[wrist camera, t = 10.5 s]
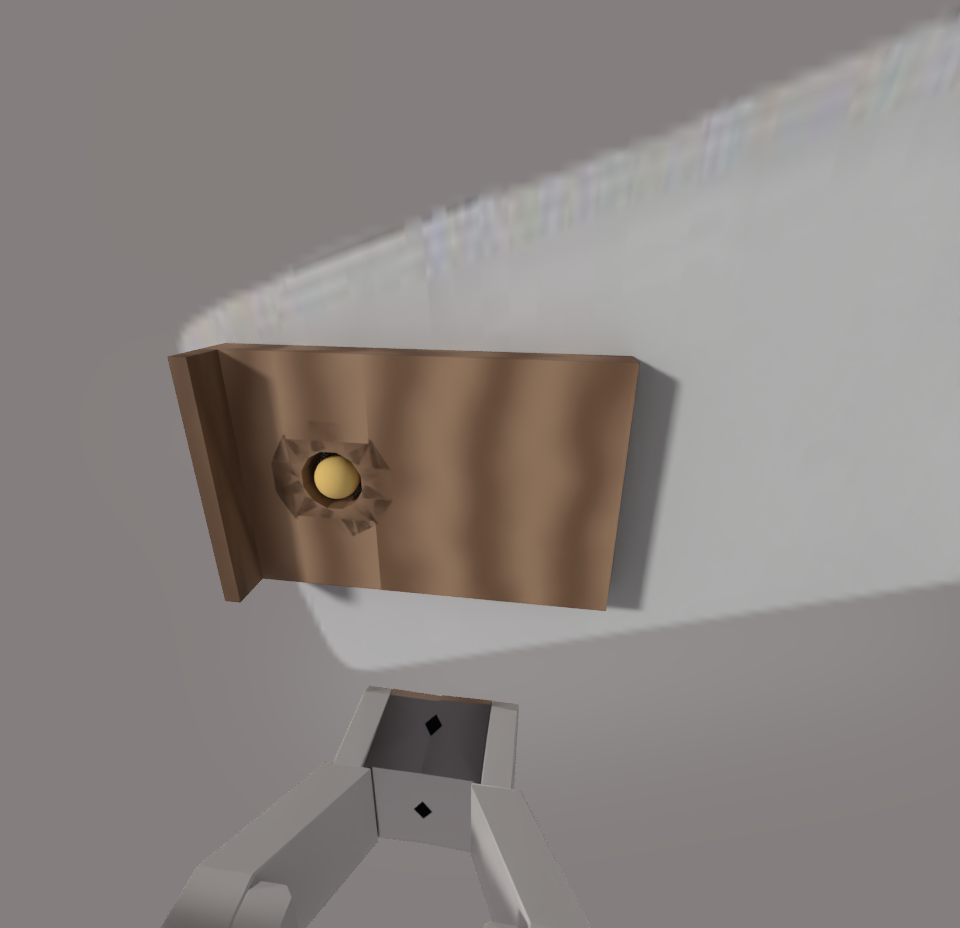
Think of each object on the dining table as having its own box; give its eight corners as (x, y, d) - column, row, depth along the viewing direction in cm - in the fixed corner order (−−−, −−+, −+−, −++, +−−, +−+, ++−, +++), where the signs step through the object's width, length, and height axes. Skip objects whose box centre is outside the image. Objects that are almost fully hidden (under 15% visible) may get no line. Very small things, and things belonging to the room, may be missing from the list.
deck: (632, 356, 30) (649, 374, 25) (602, 589, 37) (610, 640, 32) (224, 343, 34) (167, 356, 29) (265, 559, 41) (225, 600, 36)
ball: (317, 468, 32) (307, 453, 35) (323, 510, 33) (312, 493, 36) (364, 459, 34) (350, 445, 36) (367, 500, 35) (354, 484, 38)
